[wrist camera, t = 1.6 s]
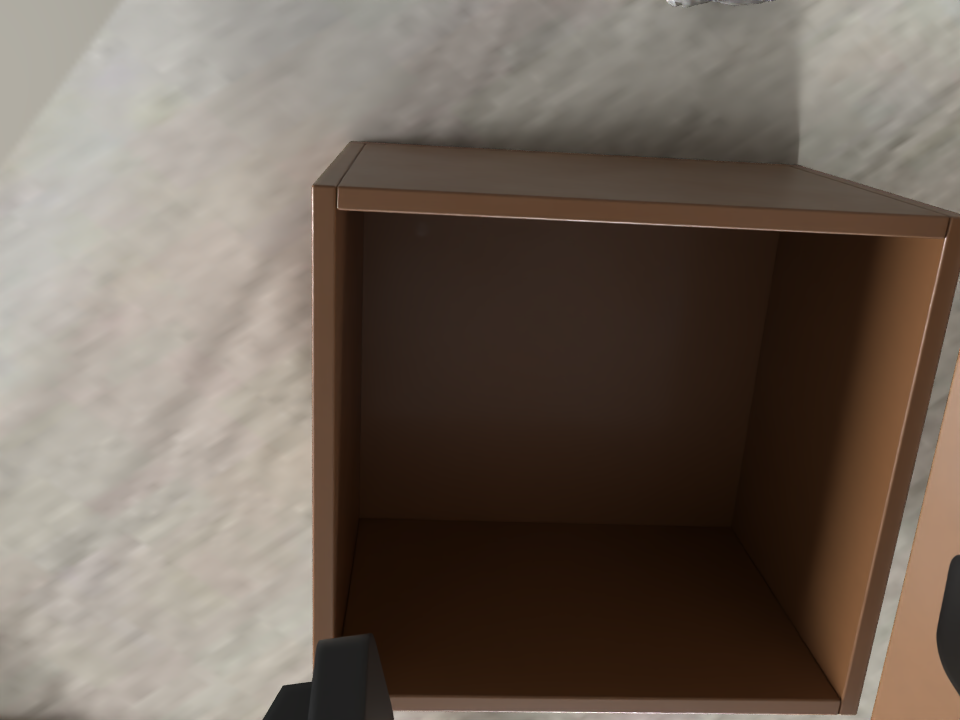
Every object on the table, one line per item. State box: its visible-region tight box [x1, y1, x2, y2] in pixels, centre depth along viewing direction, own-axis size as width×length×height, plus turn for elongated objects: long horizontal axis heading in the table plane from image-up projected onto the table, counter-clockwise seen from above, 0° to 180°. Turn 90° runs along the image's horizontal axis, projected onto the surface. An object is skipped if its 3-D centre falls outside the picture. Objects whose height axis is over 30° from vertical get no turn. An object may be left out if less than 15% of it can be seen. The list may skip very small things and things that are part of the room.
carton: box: [312, 141, 960, 715], centre depth 25 cm, size 13×14×10 cm
